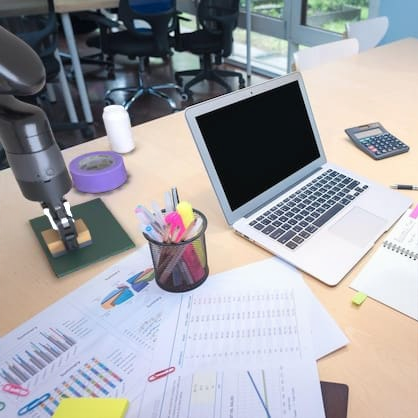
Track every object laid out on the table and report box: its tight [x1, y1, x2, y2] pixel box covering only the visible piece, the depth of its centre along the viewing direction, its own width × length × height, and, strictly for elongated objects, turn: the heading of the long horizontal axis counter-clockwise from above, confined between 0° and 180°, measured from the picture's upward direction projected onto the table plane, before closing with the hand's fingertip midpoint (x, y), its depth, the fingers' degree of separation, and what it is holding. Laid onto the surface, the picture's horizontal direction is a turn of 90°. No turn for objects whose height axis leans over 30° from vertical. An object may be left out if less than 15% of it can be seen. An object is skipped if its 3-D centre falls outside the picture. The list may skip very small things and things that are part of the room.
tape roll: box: [68, 150, 128, 194], centre depth 94 cm, size 12×12×5 cm
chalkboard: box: [28, 197, 137, 279], centre depth 80 cm, size 14×20×1 cm
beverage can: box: [102, 104, 136, 154], centre depth 105 cm, size 6×6×12 cm
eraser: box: [41, 219, 93, 258], centre depth 75 cm, size 7×4×4 cm, turn 132°
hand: (69, 242), depth 76 cm, fingers closed on eraser, 4 cm apart
